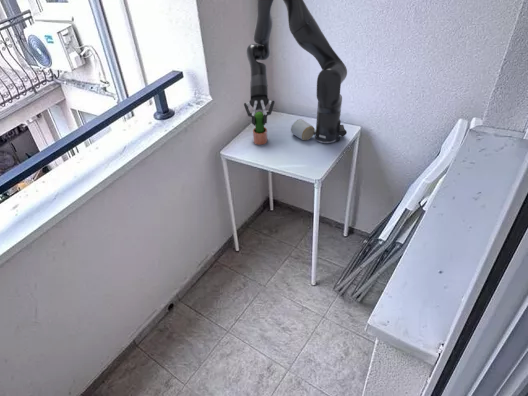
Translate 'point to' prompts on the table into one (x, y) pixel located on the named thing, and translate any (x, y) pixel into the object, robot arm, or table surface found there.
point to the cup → (260, 137)
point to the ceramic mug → (302, 129)
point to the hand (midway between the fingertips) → (259, 124)
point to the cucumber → (259, 122)
